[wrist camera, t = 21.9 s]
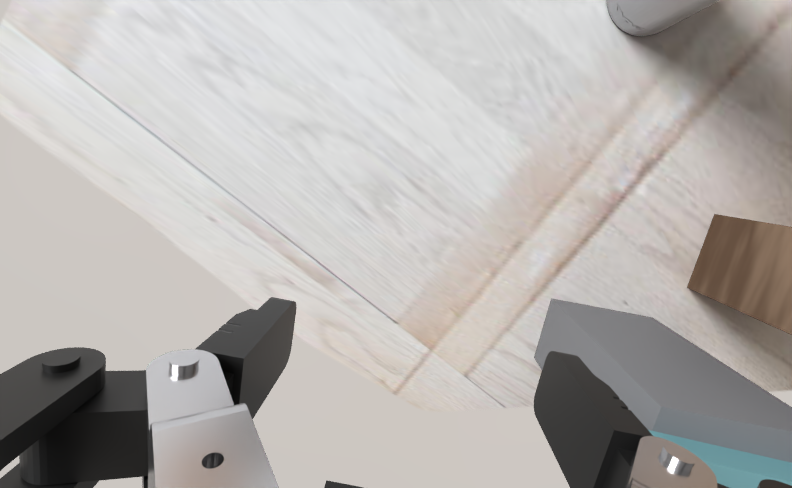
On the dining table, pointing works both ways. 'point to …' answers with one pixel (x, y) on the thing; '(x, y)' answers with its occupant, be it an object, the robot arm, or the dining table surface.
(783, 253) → the stand
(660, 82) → the dining table surface
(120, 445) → the robot arm
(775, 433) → the block
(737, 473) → the block
